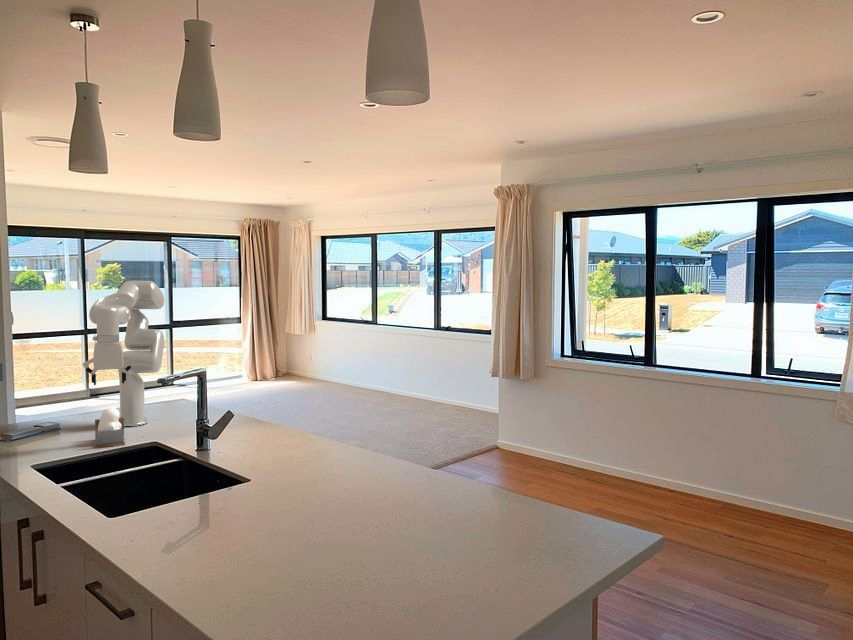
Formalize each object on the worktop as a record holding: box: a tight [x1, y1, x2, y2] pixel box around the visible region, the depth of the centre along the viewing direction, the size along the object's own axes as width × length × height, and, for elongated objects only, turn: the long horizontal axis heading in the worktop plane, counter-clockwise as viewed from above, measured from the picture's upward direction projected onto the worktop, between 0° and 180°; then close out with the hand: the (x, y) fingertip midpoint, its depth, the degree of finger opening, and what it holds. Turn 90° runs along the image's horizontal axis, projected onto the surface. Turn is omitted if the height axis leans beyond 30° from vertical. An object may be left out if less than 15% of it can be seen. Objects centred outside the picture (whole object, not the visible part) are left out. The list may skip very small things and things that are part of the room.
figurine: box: [98, 407, 122, 431], centre depth 238 cm, size 7×8×12 cm
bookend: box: [96, 429, 124, 445], centre depth 234 cm, size 4×9×5 cm, turn 118°
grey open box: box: [94, 416, 126, 449], centre depth 238 cm, size 13×10×8 cm
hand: (109, 383), depth 237 cm, fingers open, 9 cm apart
